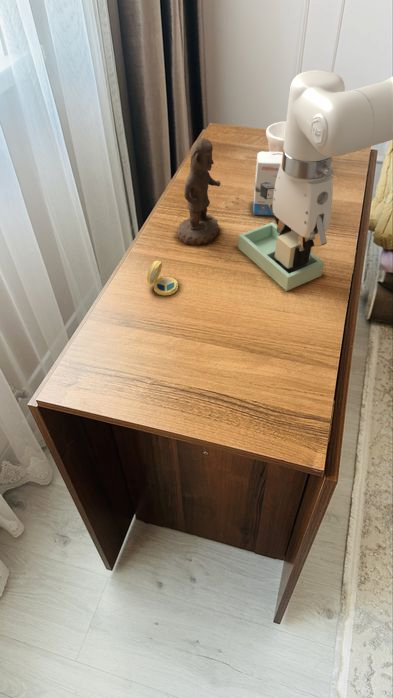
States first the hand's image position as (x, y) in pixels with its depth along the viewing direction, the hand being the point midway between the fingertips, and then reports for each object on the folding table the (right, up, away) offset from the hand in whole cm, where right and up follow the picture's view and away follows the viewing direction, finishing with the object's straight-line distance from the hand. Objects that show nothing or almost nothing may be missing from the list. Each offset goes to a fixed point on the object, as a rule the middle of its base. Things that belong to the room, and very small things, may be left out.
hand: (292, 257), depth 90 cm
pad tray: (-2, 0, +5) cm, 5 cm away
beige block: (0, 0, 0) cm, 0 cm away
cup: (+4, +26, +29) cm, 39 cm away
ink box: (-1, +13, +17) cm, 21 cm away
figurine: (-17, +7, +12) cm, 21 cm away
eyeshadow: (-23, -6, 0) cm, 24 cm away
